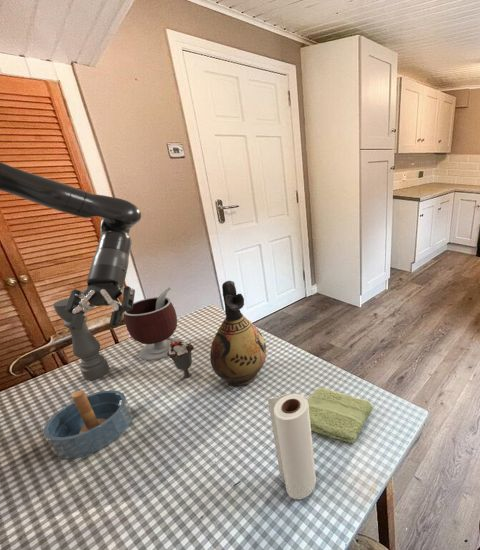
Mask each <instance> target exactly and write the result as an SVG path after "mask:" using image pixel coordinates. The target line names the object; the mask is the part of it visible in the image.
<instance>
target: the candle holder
mask: <svg viewBox="0 0 480 550" xmlns="http://www.w3.org/2000/svg"><path fill="white" fill-rule="evenodd" d="M68 300H69V297H67V298H64V299H60V300H58V301H55V302H54V303H53V305H52V306H53V308H54V311H55V313H56V315H57V316H58V317H59V318H60V319H62V320H63V322H62V325H63V327H64V328H65V327H66V328H68V331H69V333H70V336H71V343H72V354H73V355H74V357H76V358H79V360H81V361H80V363H79V368H80V372H81V374H82V376H83V379H84V380H85V381H96V380H98V379H101V378H103V377H105V376H106V375H108V374H109V373H110V371H111V368H110V365H109V363H108V360H107V359H106V358H105V356H104V355H102V354H100V350H101V344H100V343H101V342H100V341H99V340H98V339H97V338H96V337H95V336H94V334H93V333H92V332H91V331H90V330H89V327H88V324H87V321H88V317H87V316H85V315H84V316H85V318H84V322H83V326H82V329H81V330H74V329H72V327H71V321H72V317H73V314H72V313H69V312H66V311H65V308H66V306H67V303H68ZM73 306H74V305H73Z"/></svg>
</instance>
